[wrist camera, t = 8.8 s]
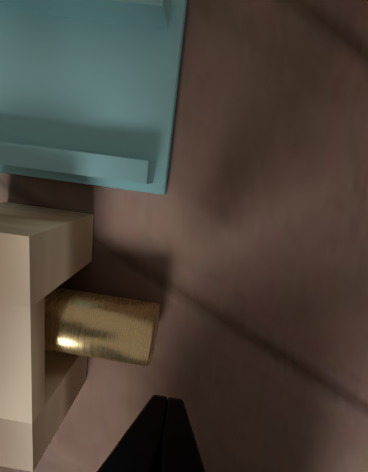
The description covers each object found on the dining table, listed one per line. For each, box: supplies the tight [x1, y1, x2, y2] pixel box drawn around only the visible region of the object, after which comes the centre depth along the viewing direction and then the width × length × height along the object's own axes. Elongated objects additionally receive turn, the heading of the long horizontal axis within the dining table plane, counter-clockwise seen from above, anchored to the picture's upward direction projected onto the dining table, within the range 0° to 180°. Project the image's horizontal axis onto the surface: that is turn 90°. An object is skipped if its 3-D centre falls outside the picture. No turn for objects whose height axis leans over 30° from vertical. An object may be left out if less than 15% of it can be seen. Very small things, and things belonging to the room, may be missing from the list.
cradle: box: [0, 0, 187, 195], centre depth 9 cm, size 7×11×2 cm, turn 83°
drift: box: [44, 287, 160, 367], centre depth 11 cm, size 9×2×2 cm, turn 83°
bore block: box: [0, 202, 94, 472], centre depth 10 cm, size 4×9×4 cm, turn 173°
